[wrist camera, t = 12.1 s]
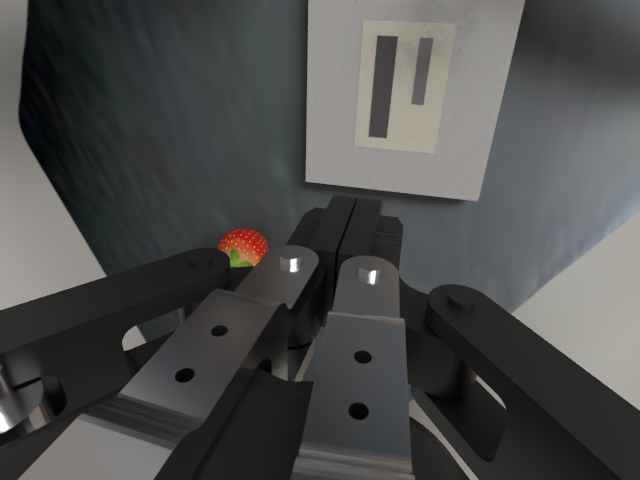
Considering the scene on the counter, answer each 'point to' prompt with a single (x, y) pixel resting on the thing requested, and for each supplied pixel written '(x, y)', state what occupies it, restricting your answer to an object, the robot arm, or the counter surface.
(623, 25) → the counter surface
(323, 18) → the plate
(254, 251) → the fruit
